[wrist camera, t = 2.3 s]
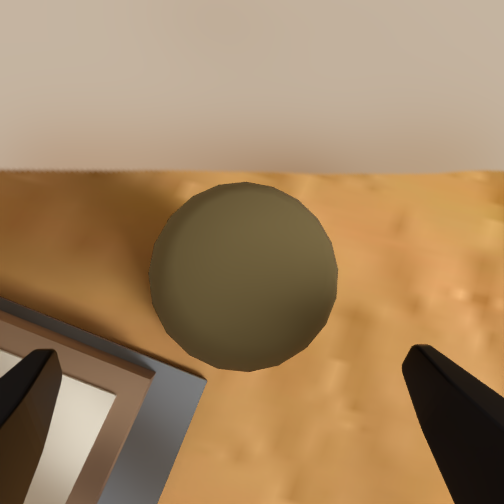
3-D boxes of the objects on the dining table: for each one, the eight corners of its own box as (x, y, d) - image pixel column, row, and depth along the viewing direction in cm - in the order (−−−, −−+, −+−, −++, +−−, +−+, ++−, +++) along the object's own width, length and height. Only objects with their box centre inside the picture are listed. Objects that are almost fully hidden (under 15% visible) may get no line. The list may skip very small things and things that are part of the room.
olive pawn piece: (138, 314, 18) (57, 294, 7) (206, 226, 19) (224, 102, 9) (232, 381, 18) (293, 459, 7) (292, 287, 19) (413, 238, 9)
